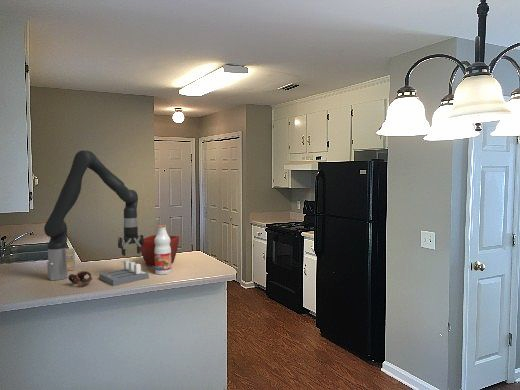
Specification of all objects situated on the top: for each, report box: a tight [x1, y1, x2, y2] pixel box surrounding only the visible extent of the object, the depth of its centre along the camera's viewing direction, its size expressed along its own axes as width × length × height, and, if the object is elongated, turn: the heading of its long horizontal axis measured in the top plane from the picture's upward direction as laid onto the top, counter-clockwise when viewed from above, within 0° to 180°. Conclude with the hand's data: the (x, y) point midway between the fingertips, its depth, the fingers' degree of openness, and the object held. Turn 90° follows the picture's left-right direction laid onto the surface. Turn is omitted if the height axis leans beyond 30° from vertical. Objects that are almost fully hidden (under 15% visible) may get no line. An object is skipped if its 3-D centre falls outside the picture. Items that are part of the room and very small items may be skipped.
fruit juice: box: [154, 224, 173, 276], centre depth 245 cm, size 9×9×28 cm
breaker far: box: [123, 259, 131, 270], centre depth 242 cm, size 2×3×5 cm
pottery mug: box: [67, 270, 93, 288], centre depth 223 cm, size 12×10×8 cm
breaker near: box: [134, 263, 142, 274], centre depth 232 cm, size 2×3×5 cm
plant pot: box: [138, 234, 180, 268], centre depth 266 cm, size 19×19×17 cm
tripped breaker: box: [129, 261, 136, 272], centre depth 237 cm, size 2×3×5 cm
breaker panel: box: [98, 268, 150, 287], centre depth 234 cm, size 20×19×3 cm
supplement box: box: [66, 247, 76, 272], centre depth 255 cm, size 8×5×13 cm, turn 105°
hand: (131, 254), depth 237 cm, fingers open, 8 cm apart
